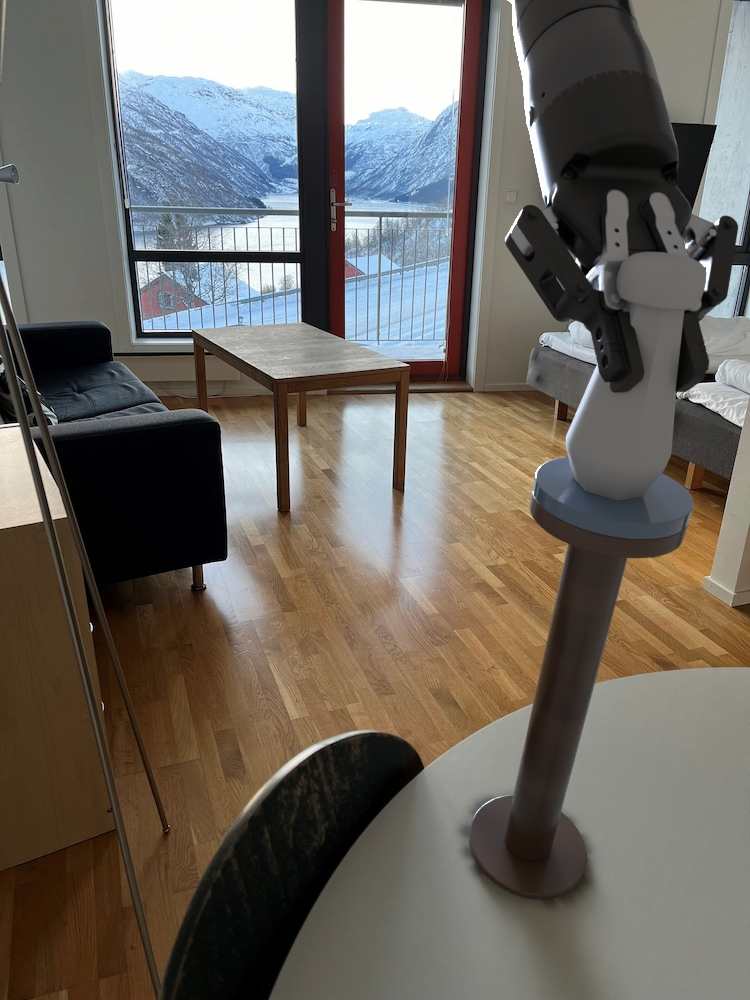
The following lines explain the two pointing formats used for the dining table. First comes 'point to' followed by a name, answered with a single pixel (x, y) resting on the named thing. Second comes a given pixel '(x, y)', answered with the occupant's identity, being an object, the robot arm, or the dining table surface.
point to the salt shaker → (651, 403)
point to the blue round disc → (613, 505)
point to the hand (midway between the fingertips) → (659, 384)
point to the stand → (558, 719)
